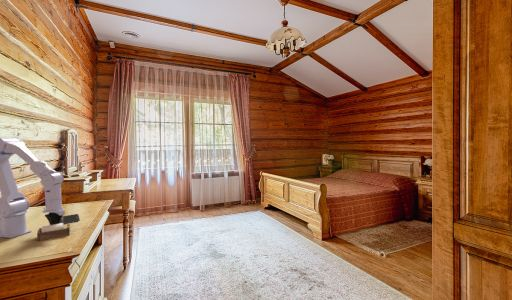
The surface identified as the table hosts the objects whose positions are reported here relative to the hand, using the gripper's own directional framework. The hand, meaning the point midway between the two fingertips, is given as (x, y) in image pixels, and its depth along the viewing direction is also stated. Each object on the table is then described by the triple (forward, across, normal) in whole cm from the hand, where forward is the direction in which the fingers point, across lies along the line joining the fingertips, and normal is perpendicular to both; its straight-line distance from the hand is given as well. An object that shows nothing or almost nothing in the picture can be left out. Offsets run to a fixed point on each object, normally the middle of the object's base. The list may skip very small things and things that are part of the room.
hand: (55, 228), depth 110 cm
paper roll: (0, +3, -2) cm, 4 cm away
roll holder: (+2, +3, -2) cm, 4 cm away
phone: (+2, -17, +14) cm, 22 cm away
